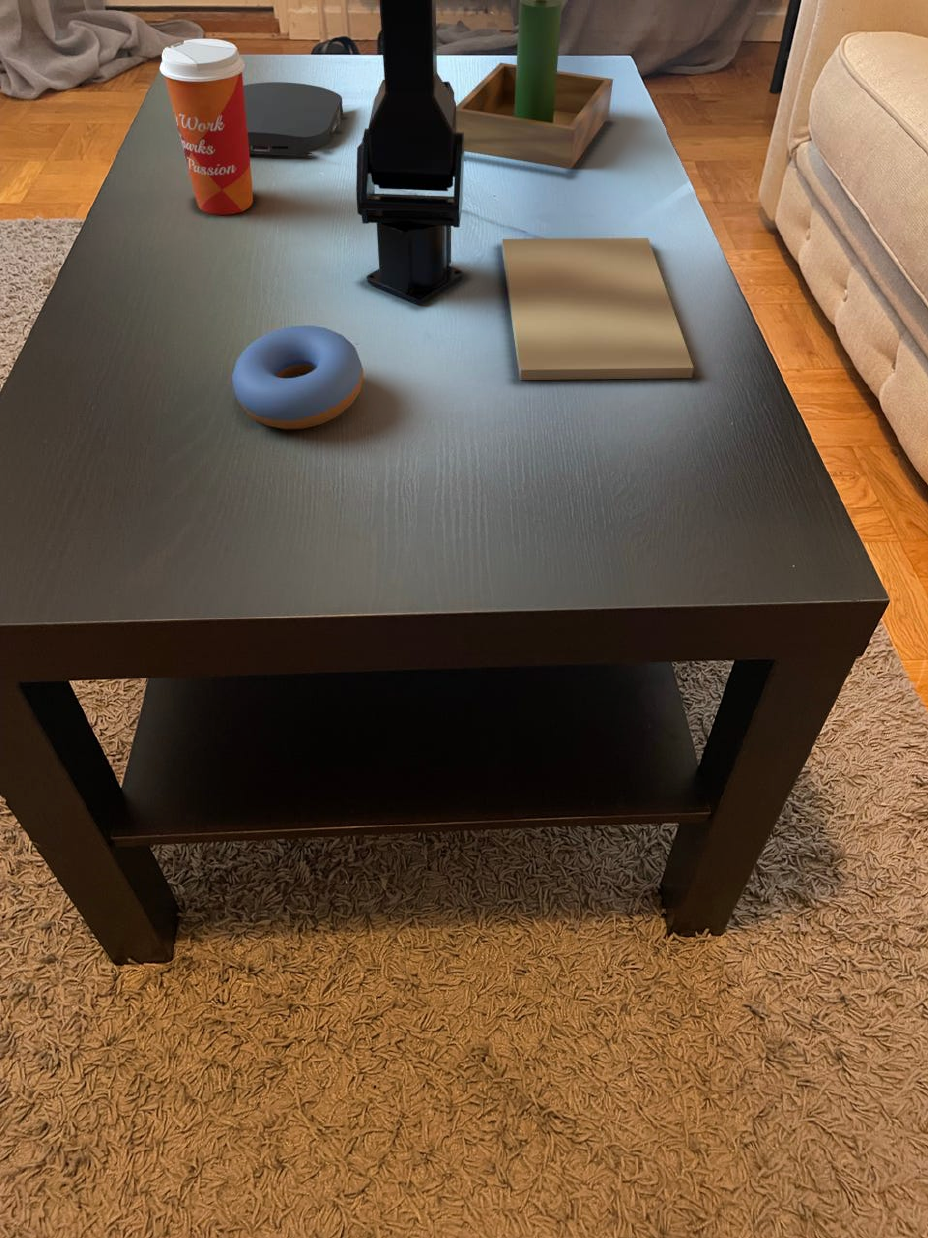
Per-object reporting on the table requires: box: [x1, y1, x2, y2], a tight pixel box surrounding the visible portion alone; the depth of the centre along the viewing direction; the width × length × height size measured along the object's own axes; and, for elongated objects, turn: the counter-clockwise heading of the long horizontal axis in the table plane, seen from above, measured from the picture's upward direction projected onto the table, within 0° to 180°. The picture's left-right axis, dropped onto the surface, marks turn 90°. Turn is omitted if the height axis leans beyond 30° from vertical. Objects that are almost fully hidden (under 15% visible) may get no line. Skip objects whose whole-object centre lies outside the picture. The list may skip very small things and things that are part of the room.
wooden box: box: [456, 62, 614, 170], centre depth 109 cm, size 16×14×5 cm
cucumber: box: [514, 0, 563, 123], centre depth 105 cm, size 4×4×14 cm
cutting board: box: [501, 237, 695, 381], centre depth 86 cm, size 22×14×1 cm, turn 2°
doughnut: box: [231, 324, 364, 430], centre depth 74 cm, size 10×10×5 cm
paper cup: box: [159, 38, 254, 216], centre depth 94 cm, size 8×8×14 cm
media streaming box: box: [243, 81, 344, 156], centre depth 110 cm, size 15×15×3 cm
